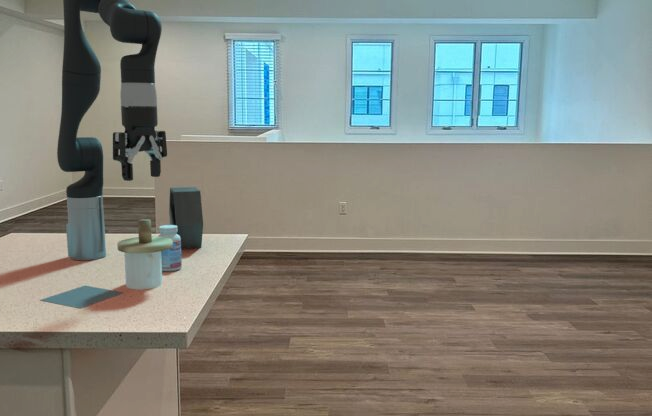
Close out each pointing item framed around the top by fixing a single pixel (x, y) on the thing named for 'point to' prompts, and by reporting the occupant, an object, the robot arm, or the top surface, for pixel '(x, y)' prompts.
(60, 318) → the top surface
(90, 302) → the mat
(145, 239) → the lid
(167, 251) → the pill bottle
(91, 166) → the robot arm
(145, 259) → the mug
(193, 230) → the planter
